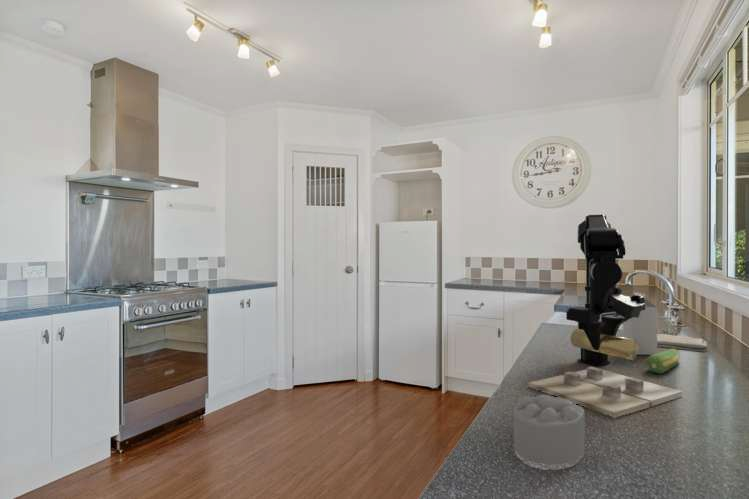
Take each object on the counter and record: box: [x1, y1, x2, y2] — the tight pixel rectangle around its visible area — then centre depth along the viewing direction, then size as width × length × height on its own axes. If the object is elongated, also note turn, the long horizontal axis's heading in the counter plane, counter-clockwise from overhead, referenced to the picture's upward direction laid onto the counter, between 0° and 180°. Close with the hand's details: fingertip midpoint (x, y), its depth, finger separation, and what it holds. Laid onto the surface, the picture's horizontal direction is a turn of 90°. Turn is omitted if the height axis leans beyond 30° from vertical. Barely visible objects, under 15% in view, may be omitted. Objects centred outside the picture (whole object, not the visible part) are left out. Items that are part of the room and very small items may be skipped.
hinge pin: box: [570, 328, 638, 361], centre depth 103 cm, size 14×4×4 cm, turn 28°
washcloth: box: [657, 333, 709, 353], centre depth 149 cm, size 12×18×3 cm, turn 55°
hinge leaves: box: [528, 366, 683, 419], centre depth 103 cm, size 22×25×4 cm
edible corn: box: [646, 348, 680, 374], centre depth 122 cm, size 5×20×5 cm
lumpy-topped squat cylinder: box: [513, 393, 586, 464], centre depth 74 cm, size 10×13×9 cm
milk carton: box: [622, 291, 658, 356], centre depth 139 cm, size 7×7×19 cm
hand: (602, 348), depth 103 cm, fingers closed on hinge pin, 4 cm apart
